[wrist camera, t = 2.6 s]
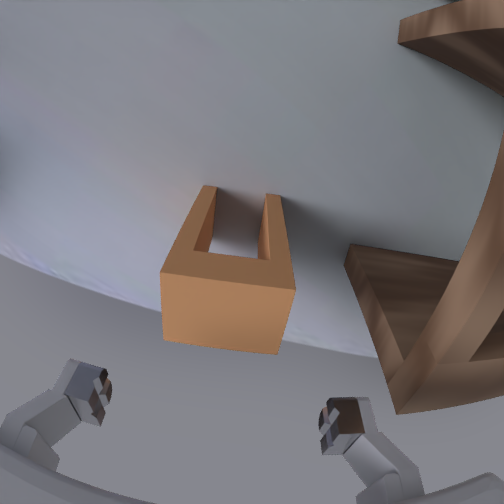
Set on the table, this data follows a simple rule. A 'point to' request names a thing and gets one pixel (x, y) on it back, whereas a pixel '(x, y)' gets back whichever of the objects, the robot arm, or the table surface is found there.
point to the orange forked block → (227, 284)
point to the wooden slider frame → (442, 270)
